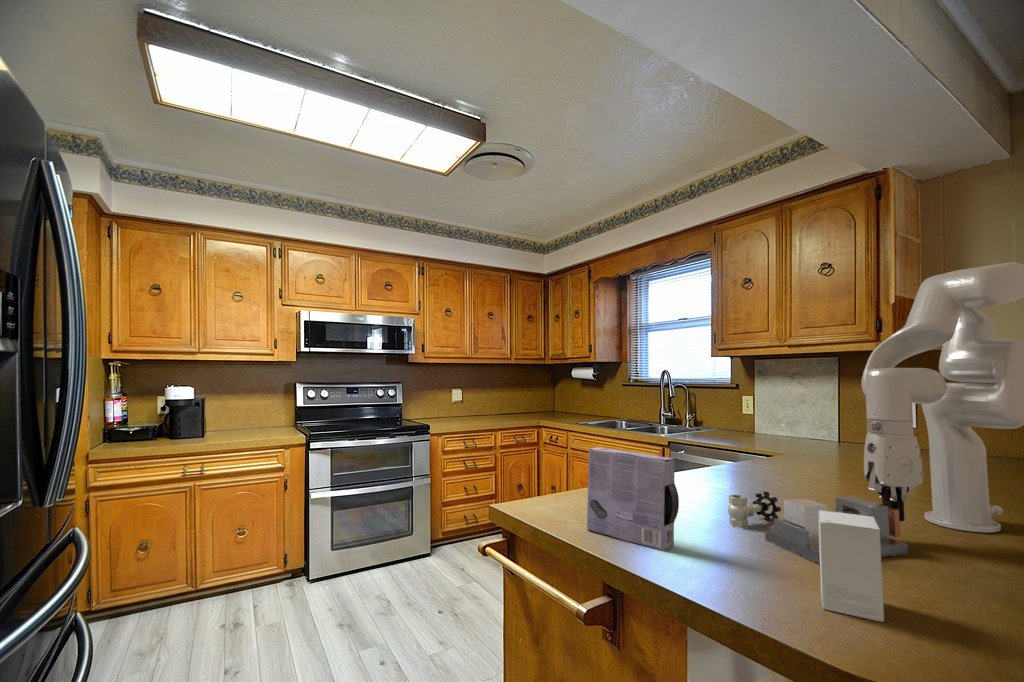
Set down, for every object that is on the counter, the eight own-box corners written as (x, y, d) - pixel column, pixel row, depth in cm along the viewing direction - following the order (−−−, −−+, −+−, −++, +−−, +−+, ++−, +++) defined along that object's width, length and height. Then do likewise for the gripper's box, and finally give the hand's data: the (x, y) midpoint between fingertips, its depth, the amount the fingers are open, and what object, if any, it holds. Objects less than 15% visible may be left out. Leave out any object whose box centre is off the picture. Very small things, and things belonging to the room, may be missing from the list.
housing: (811, 533, 97) (809, 497, 97) (832, 542, 92) (831, 504, 92) (785, 535, 95) (783, 499, 96) (805, 544, 90) (804, 506, 91)
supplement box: (885, 623, 66) (881, 529, 67) (821, 609, 70) (817, 520, 71) (879, 601, 72) (875, 515, 73) (820, 590, 76) (817, 508, 77)
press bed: (845, 532, 103) (843, 492, 104) (907, 554, 91) (905, 509, 91) (765, 539, 99) (764, 498, 99) (819, 564, 86) (817, 516, 87)
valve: (745, 532, 104) (781, 524, 109) (744, 501, 104) (780, 494, 109) (719, 523, 110) (755, 516, 115) (719, 494, 110) (754, 488, 115)
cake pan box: (681, 546, 95) (678, 456, 96) (669, 553, 92) (667, 459, 93) (598, 525, 108) (597, 446, 109) (585, 531, 105) (584, 448, 106)
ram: (871, 527, 101) (870, 501, 101) (900, 536, 95) (898, 509, 95) (816, 532, 97) (814, 505, 98) (842, 542, 92) (841, 514, 92)
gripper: (878, 431, 94) (882, 527, 93) (937, 429, 97) (942, 522, 96) (843, 427, 101) (846, 516, 100) (900, 425, 105) (903, 512, 104)
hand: (893, 519), depth 98 cm, fingers closed
